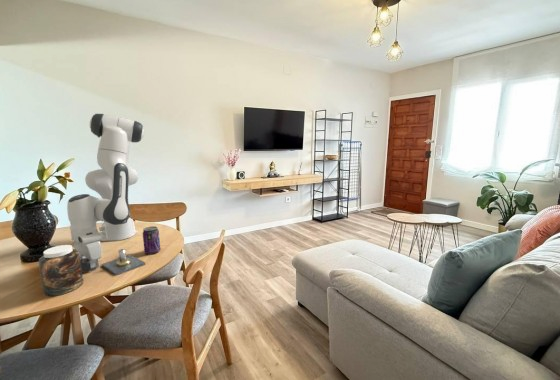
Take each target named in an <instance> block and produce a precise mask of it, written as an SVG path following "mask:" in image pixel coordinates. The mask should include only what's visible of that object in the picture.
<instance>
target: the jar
mask: <svg viewBox="0 0 560 380" xmlns="http://www.w3.org/2000/svg"><path fill="white" fill-rule="evenodd" d="M80 260H81V259H80V257H79V252H78V251H77V250H76V249H75V248H74V247H73V245H71V244H61V245H55V246H53V247H48V248H47V249H45V250H44V251H43V255H42V256H41V257H40V258H39V259H38V266H39V272H40V279H41V285H42V289H43V295H45V296H47V295H48V297H54V296H55V297H56V296H62V295H65V294H69V293H70V292H73V291H75V290H77V289H79V288H80V287H81V286H82V285H84V284H83V283H84V276H83V272H82V268H81V262H80Z"/></svg>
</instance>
